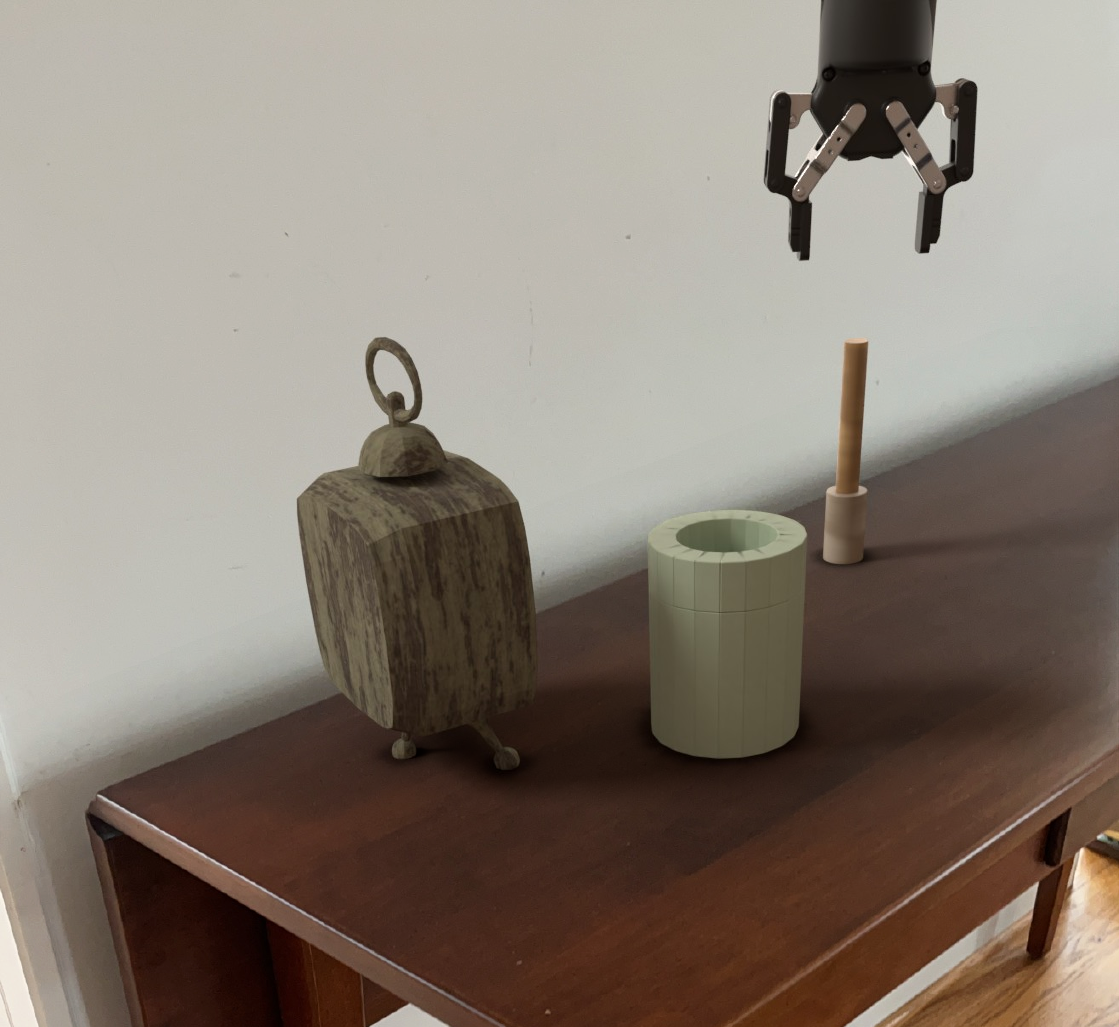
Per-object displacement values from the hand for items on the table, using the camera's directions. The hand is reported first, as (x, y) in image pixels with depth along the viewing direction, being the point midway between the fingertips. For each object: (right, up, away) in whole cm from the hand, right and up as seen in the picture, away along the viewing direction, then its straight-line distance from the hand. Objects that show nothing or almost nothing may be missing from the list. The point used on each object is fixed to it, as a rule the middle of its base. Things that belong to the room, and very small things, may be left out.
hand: (861, 255), depth 103 cm
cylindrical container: (-11, -36, -10) cm, 39 cm away
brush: (+1, -18, +13) cm, 23 cm away
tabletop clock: (-30, -38, -10) cm, 49 cm away
